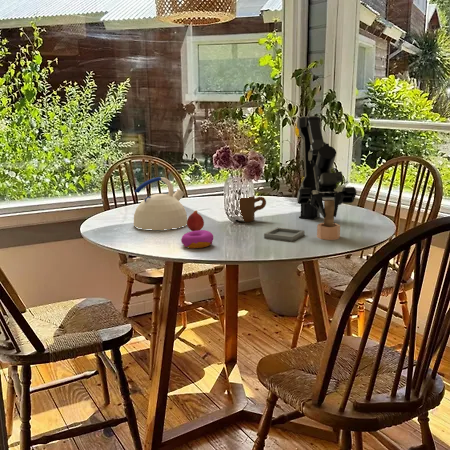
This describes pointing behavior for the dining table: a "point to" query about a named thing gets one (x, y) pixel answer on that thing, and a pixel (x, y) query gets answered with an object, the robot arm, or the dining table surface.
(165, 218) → the kettle
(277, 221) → the dining table surface
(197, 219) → the onion
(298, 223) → the dining table surface
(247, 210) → the mug
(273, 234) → the grey tray
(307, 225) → the dining table surface
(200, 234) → the donut
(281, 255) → the dining table surface
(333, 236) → the terracotta cup
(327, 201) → the walnut dowel
